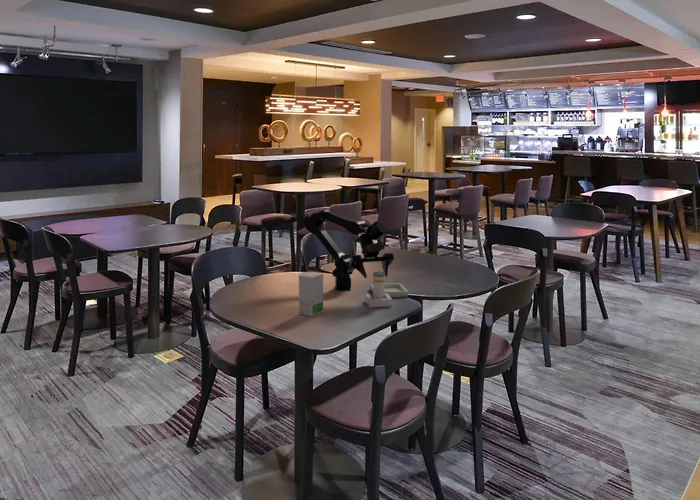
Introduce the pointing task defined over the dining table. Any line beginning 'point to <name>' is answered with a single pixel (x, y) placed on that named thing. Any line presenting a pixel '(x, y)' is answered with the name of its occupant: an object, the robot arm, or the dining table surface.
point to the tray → (393, 290)
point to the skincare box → (310, 294)
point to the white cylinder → (378, 285)
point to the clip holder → (378, 301)
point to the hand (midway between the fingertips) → (376, 276)
